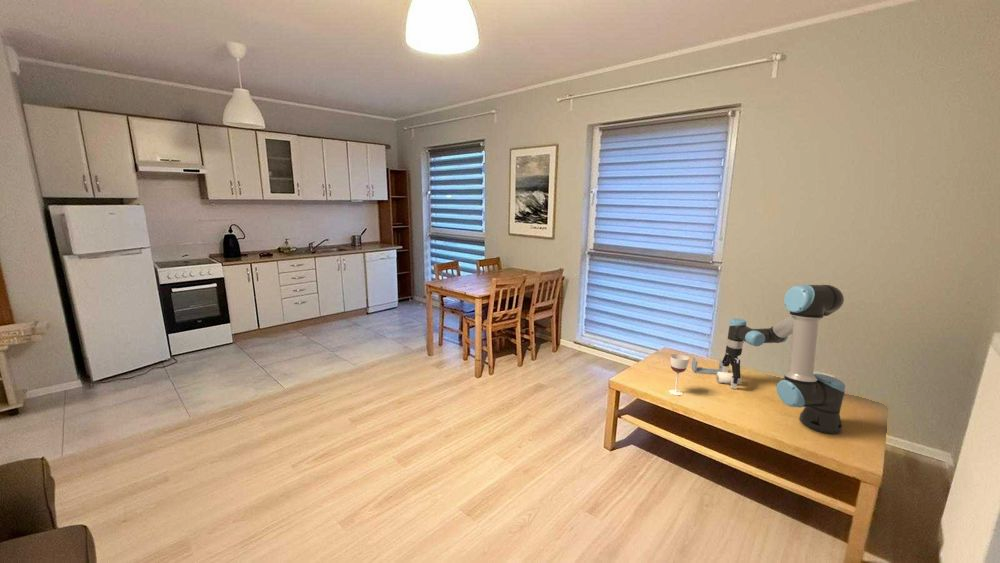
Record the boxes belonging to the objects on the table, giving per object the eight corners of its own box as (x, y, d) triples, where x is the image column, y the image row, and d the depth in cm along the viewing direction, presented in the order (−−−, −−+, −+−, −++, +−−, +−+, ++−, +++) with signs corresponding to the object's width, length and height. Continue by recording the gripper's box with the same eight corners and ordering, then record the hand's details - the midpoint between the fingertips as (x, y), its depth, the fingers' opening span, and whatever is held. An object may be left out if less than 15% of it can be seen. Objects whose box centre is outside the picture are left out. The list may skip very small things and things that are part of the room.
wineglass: (687, 396, 204) (691, 360, 200) (670, 396, 205) (674, 359, 200) (680, 389, 212) (684, 354, 208) (664, 388, 212) (668, 353, 208)
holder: (723, 375, 230) (725, 364, 229) (694, 372, 233) (695, 361, 232) (720, 370, 236) (721, 359, 235) (691, 368, 239) (692, 357, 238)
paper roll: (737, 383, 222) (737, 372, 222) (742, 385, 216) (742, 374, 216) (715, 381, 224) (716, 370, 224) (719, 383, 218) (720, 372, 218)
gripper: (751, 356, 203) (745, 394, 207) (733, 339, 227) (727, 373, 231) (735, 354, 204) (729, 392, 209) (719, 338, 228) (714, 372, 233)
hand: (728, 382), depth 220 cm, fingers open, 13 cm apart
